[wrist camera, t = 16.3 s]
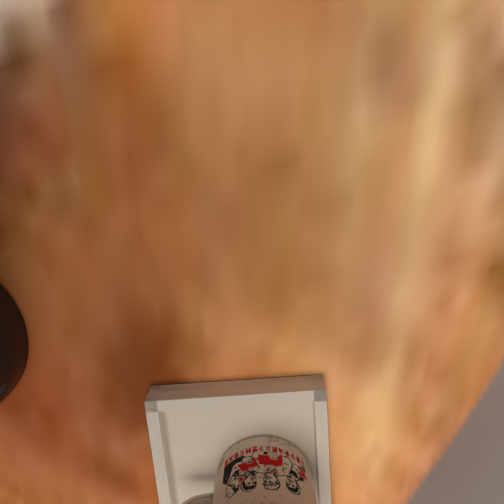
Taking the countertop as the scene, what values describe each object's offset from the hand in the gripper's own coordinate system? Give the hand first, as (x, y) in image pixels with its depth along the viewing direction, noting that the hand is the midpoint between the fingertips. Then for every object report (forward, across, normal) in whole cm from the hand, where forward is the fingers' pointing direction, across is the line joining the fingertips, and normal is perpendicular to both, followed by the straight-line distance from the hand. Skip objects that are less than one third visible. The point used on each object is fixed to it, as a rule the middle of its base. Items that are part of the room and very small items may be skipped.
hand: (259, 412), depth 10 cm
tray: (+27, -3, -23) cm, 35 cm away
